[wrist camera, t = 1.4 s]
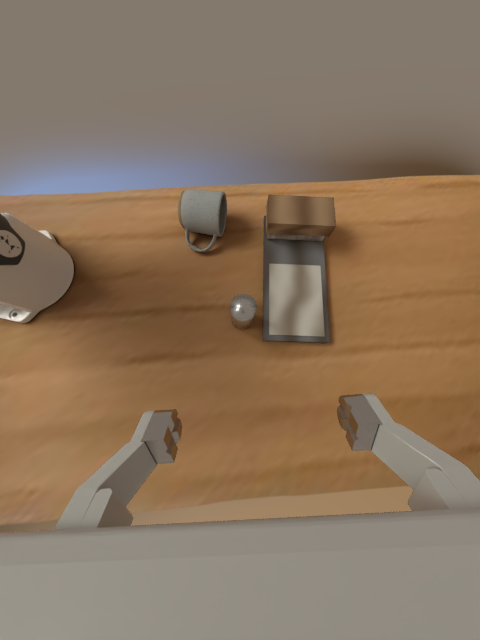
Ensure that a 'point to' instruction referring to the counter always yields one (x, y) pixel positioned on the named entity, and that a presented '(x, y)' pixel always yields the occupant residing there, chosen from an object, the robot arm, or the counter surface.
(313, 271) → the grey board with block
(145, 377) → the counter surface
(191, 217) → the ceramic mug
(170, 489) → the counter surface
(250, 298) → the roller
